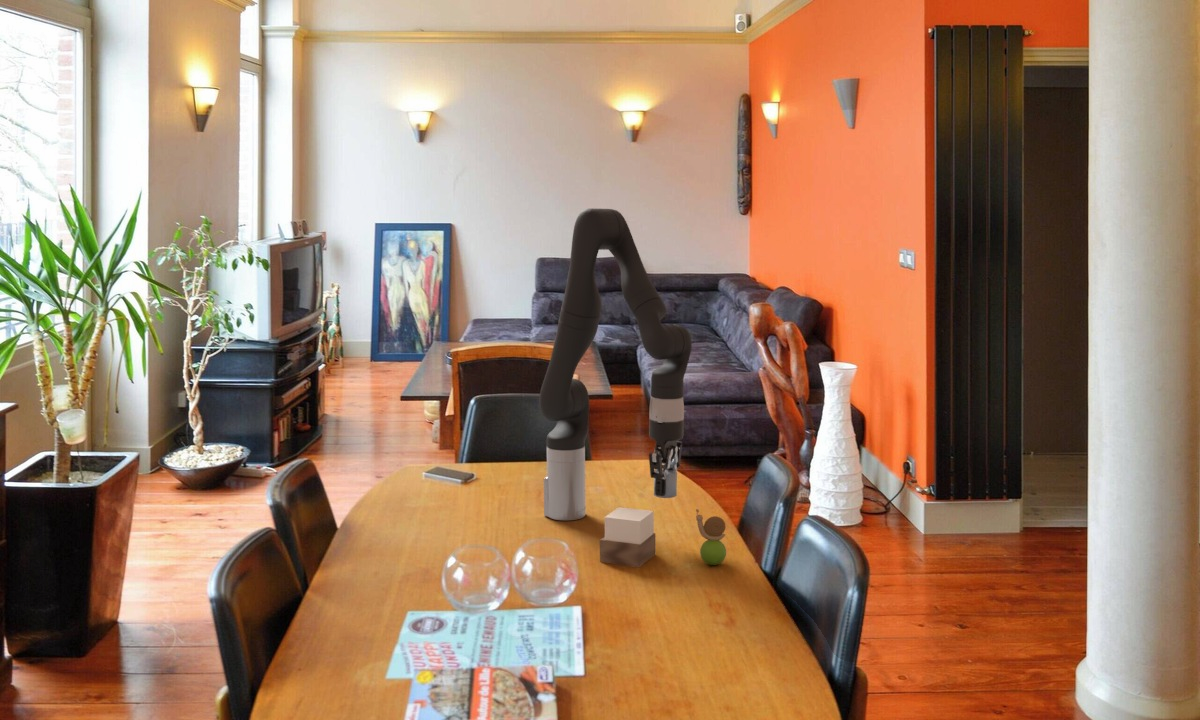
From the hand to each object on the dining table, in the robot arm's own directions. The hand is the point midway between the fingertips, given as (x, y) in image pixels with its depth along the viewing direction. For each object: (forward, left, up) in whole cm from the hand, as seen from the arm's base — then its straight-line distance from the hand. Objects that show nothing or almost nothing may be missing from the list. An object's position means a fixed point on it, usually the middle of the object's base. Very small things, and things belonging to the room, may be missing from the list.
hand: (665, 491), depth 235 cm
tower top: (-3, -12, -7) cm, 14 cm away
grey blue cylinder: (0, 0, -1) cm, 1 cm away
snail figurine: (+14, -8, -12) cm, 20 cm away
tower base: (-4, -12, -12) cm, 17 cm away
